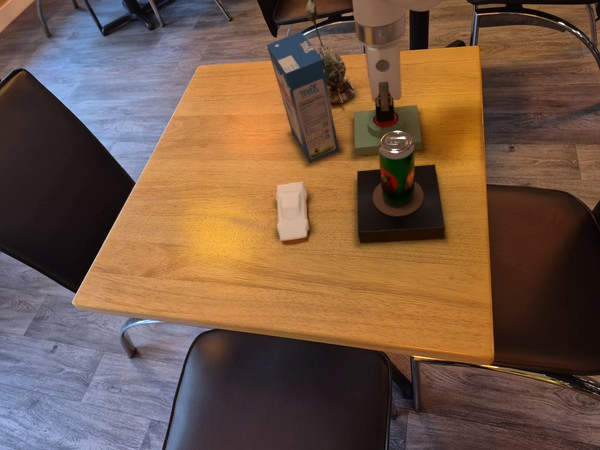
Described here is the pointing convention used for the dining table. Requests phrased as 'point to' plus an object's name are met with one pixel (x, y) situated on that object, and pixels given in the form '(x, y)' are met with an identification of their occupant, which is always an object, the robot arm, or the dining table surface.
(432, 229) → the stand
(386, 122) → the red button
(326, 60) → the plant with pod
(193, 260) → the dining table surface
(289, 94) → the milk carton
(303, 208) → the toy car
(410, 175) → the soda can
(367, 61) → the robot arm
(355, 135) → the button box
